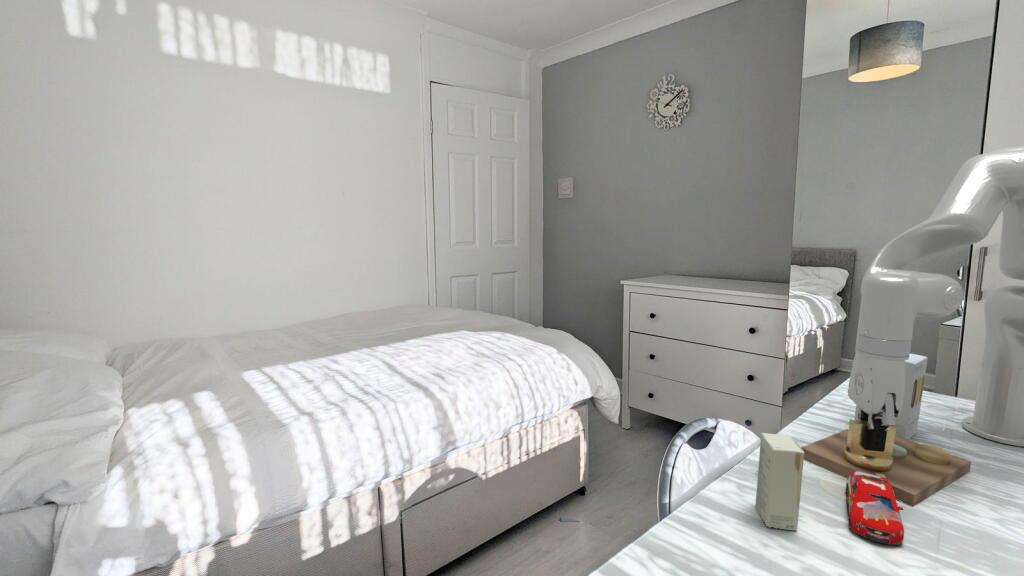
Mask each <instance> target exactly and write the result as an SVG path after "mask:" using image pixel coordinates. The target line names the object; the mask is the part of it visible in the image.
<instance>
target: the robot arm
mask: <svg viewBox="0 0 1024 576" xmlns="http://www.w3.org/2000/svg"><path fill="white" fill-rule="evenodd" d="M1001 212H1002V224H1001V226H1002V227H1001V235H1000V236H1001V237H1000V248H999V259H998V260H999V263H998V264H999V270H1000V272H1001V273H1002V274H1003V275H1004V276H1005V277H1007V278H1010V279H1014V280H1019V281H1024V145H1019V146H1018V145H1017V146H1009V147H1003V148H998V149H994V150H990V151H989V152H986V153H981V154H978V155H976V156H973V157H971V158H969V159H968V160H966V161H964V163H963V164H962V165H961V167H959V170H958V171H957V173H956V174H955V176H954V178H953V179H952V181H951V182H950V185H948V188H947V189H946V191H945V192H944V194H943V195H942V198H941V199H940V201H939V202H938V204H937V205H936V207H935V209H934V210H933V212H932V213H931V215H930V216H929V218H927V219H926V220H924V221H922V222H920V223H919V224H916V225H914V226H913V227H910V228H909V229H907V230H906V231H904V232H902V233H900V234H899V235H898V236H896V237H894V238H892V239H891V240H890V241H888V242H887V243H886V244H885V245H884V246H883V247H882V248H880V249H879V251H878V252H877V254H876V255H875V256H874V257H873V258H874V259H873V260H872V262H871V263H870V266H869V267H868V268H867V270H866V272H865V274H864V276H863V278H862V280H861V285H860V295H861V299H860V308H859V315H858V323H857V324H858V325H857V333H856V340H855V349H854V352H855V355H854V358H853V361H852V364H851V365H852V366H851V370H850V371H851V372H850V376H849V381H848V383H849V384H848V387H847V396H848V397H849V399H850V400H851V401H852V403H854V404H855V405H856V404H857V405H858V407H859V408H858V415H857V417H858V419H859V420H861V421H868V427H865V429H864V437H863V445H862V447H863V449H865V450H870V451H879V452H883V451H884V450H885V444H886V436H887V432H888V430H889V426H895V417H898V416H899V415H900V414H901V411H902V406H903V400H904V390H905V360H908V359H909V355H910V354H911V347H912V340H913V334H914V325H915V319H916V317H922V318H930V319H931V318H932V319H934V318H935V319H936V318H944V317H946V316H950V315H952V314H953V313H954V312H956V311H957V310H958V309H959V308H960V307H961V305H962V303H963V300H964V290H963V287H962V285H961V284H960V282H959V281H958V280H956V279H955V278H953V277H951V276H948V275H946V274H940V273H935V272H934V273H933V272H921V271H917V270H907V269H906V268H907V267H908V266H910V265H911V264H913V263H914V262H917V261H919V260H921V259H923V258H926V257H928V256H932V255H936V254H941V253H944V252H948V251H952V250H956V249H961V248H964V247H967V246H971V245H974V244H977V243H979V242H981V241H983V240H985V239H986V237H987V236H988V235H989V233H990V231H991V230H992V228H993V227H994V224H995V223H996V221H997V219H998V218H999V216H1000V215H1001ZM984 320H985V321H984V322H985V338H984V339H985V340H984V346H983V347H984V348H983V354H982V360H981V361H982V362H981V367H980V372H979V378H978V385H977V392H976V397H975V403H974V409H973V415H972V416H969V417H964V418H963V419H962V422H961V425H962V427H963V428H964V429H965V430H967V431H968V432H970V433H971V434H974V435H976V436H978V437H981V438H984V439H987V440H990V441H994V442H997V443H1000V444H1001V443H1002V444H1005V445H1011V446H1017V447H1023V448H1024V285H1005V286H1001V287H998V288H995V289H994V290H992V291H991V292H989V294H988V295H987V296H986V299H985V301H984ZM880 410H882V411H883V412H879V411H880ZM878 417H882V418H878Z"/></svg>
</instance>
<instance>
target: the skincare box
mask: <svg viewBox="0 0 1024 576" xmlns="http://www.w3.org/2000/svg"><path fill="white" fill-rule="evenodd" d="M759 445H760V446H759V453H758V454H759V457H758V466H757V467H758V469H757V470H758V471H757V482H756V495H755V507H756V509H757V511H758V514H759V515H761V516H760V517H761V519H762V521H763V523H764V522H765V523H764V525H765V524H766V525H765V527H767V526H769V527H768V528H771V527H774V528H773V529H778V528H779V529H781V530H788V531H798V527H799V526H798V524H799V513H800V503H801V493H802V492H801V491H802V482H803V471H804V460H805V459H804V451H803V450H802V449H801V447H802V446H800V445H799V444H798V442H796V440H795V439H794V438H793V437H792V436H791V435H787V434H777V433H766V432H761V433H760V443H759ZM779 529H778V530H779Z"/></svg>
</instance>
